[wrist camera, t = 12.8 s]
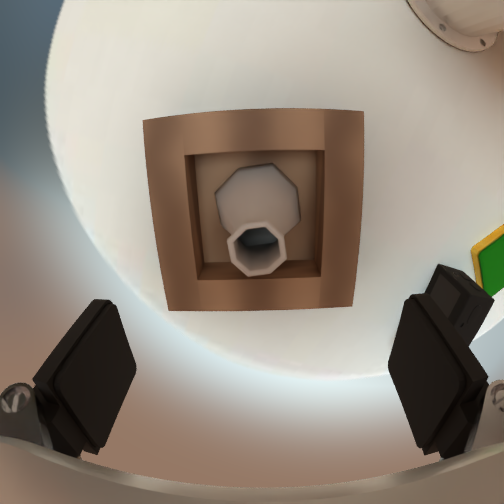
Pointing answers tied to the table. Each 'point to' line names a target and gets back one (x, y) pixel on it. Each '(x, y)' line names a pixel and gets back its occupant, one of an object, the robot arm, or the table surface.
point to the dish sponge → (490, 261)
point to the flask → (258, 216)
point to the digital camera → (460, 300)
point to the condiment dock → (215, 236)
